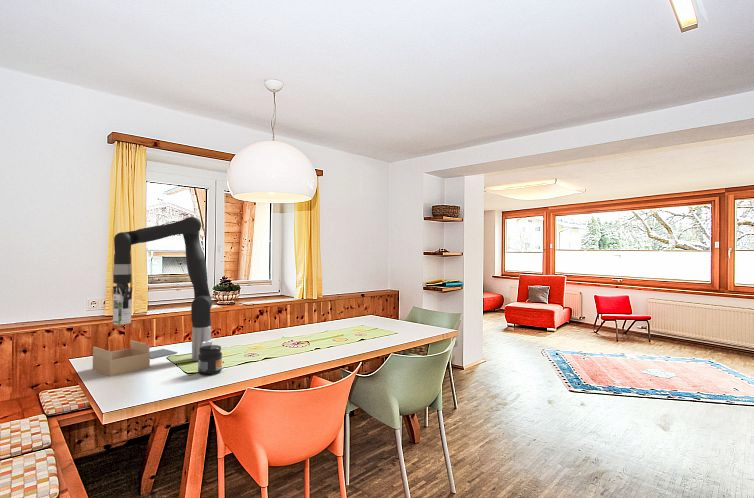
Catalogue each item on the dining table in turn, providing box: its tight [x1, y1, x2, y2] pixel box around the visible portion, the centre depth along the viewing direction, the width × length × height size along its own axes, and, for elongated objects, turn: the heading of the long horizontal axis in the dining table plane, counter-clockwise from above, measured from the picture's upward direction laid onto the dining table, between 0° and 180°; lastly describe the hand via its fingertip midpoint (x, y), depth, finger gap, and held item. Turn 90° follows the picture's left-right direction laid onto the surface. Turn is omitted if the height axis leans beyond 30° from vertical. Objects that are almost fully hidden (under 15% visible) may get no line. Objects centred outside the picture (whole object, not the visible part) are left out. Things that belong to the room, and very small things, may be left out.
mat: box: [149, 348, 178, 360], centre depth 220 cm, size 14×14×1 cm
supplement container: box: [197, 344, 223, 376], centre depth 188 cm, size 10×10×12 cm
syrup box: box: [112, 294, 132, 326], centre depth 194 cm, size 6×6×14 cm
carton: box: [92, 339, 151, 377], centre depth 194 cm, size 18×18×11 cm
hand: (122, 307), depth 194 cm, fingers closed on syrup box, 6 cm apart
